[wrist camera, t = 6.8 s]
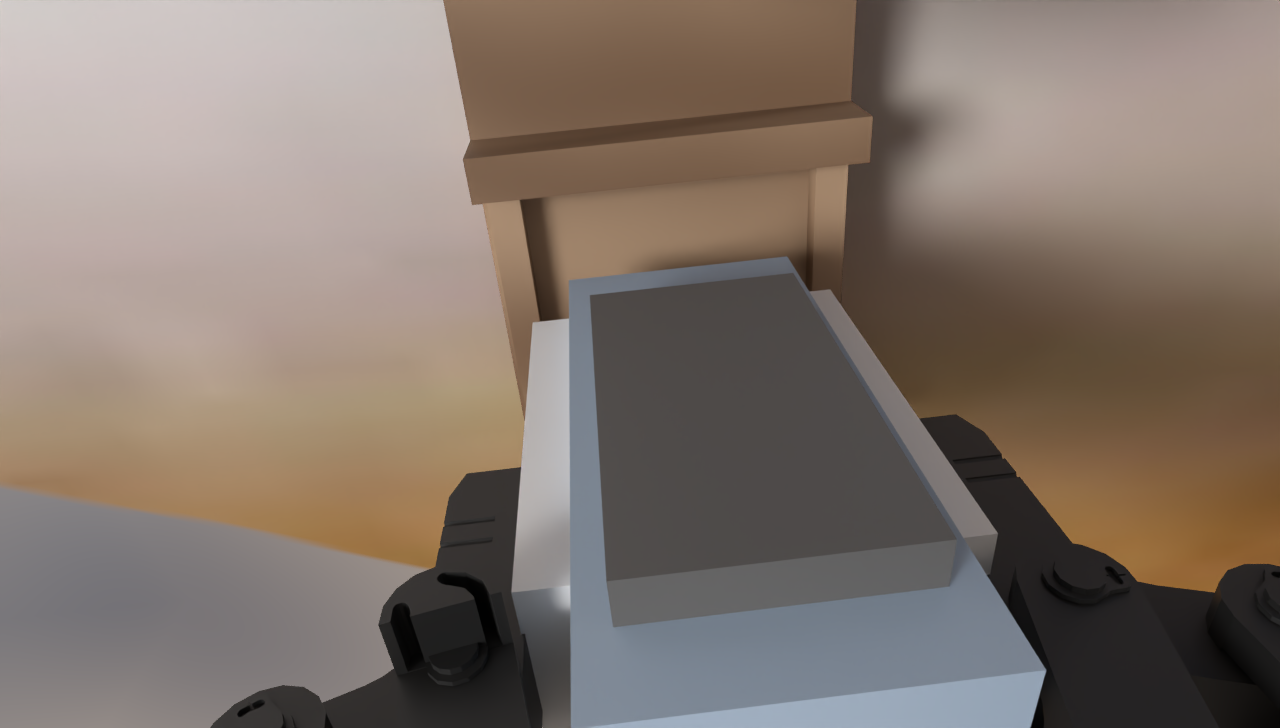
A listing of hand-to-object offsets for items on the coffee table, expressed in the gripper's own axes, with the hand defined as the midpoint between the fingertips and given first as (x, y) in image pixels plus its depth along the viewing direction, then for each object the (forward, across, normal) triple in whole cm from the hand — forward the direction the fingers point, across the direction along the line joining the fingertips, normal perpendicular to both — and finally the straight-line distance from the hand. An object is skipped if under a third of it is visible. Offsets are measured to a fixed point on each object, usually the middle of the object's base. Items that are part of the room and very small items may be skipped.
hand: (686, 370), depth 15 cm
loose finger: (0, 0, 0) cm, 0 cm away
